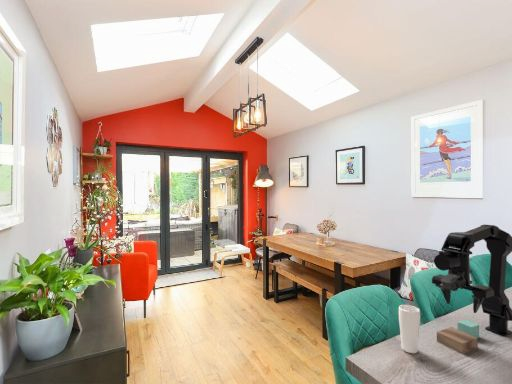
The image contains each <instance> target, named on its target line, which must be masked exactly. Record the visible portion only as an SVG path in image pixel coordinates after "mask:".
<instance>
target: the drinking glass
mask: <svg viewBox="0 0 512 384" xmlns="http://www.w3.org/2000/svg"><path fill="white" fill-rule="evenodd" d="M398 324H399V333H400V335H399V336H400V347H401V350H403V351H404V352H406V353H410V354H417V353H418V351H419V338H420V329H421V310H420V308H418V306H413V305H411V304H400V305H399V306H398Z"/></svg>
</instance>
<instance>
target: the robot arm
mask: <svg viewBox="0 0 512 384" xmlns="http://www.w3.org/2000/svg"><path fill="white" fill-rule="evenodd" d="M482 240H483V241H484V242H485V244H486V249H487V250H488V252H489V253H490V263H489V275H488V276H489V277H488V286H487V285H483V284H479V285H475V286H474V285H471V284H473V280H471V274H472V272H473V270H472V269H470V255H473V252H472V251H471V249H472V248H474V247H475V243H477V242H480V241H482ZM511 253H512V235H511V234H510V233H508V232H506V231H504V230H502V229H500V228H499V227H498V226H497V225H495V224H481V225H480V226H478V227H475V228H473V229H469V230H466V231H458V232H457V231H456V232H450V233H448V234H447V236H446V238H445V240H444V243H443V245H442V247H441V249H440V251H439V252H438V254H437V255H435V256H434V259H433V263H434V266H435V267H436V268H437V269H438V270H439V271H442V272H443V271H445V272H446V271H448V272H447V274H445V275H443V274H440V273H439V274H436V275H433V276H432V277H431V283H432V284H434V286H435V287H437V288H438V289H440V291H441V293H442V295H443V297H444V299H445V302H446V304H448V305H449V304H450V303H451V298H452V297H451V295H452V294H451V293H452V292H457V291H458V289H461V290H467V291H470V292H471V293H472V295H471V298H472V299H473V302H472V304H473V306H472V309H473V310H472V311H473V314H477V312H478V310H479V309H480V307H481V308H482V312H483V313H484V314H487V315H488V318H489V319H488V320H489V325H488V326H485V327H484V328H485V330H487V331H489V332H492V333H495V334H497V335H499V336H503V337H505V336H508V335H510V334H512V330H510V329H509V321H510V322H512V308H511V306H510V299H509V297H508V296H507V294H506V293H505V289H506V273H507V260H508V259H507V258H508V256H509V255H510V254H511Z"/></svg>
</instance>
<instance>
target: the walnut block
mask: <svg viewBox="0 0 512 384" xmlns="http://www.w3.org/2000/svg"><path fill="white" fill-rule="evenodd" d="M478 341H479V339H478V338H476V337H474V336H472V335H469V334H467V333H465V332H462V331H460V330H458V328H455V327H453V326H451V327H447V328H444V329H441V330H438V331H436V342H437V343H439V344H441V345H443V346H445V347H447V348H449V349H451V350H453V351H456V352H458V354H459V353H460V354H461V355H464V354H466V353H469V352H471V351H474V350H476V349H478V348H479V345H478V344H479V343H478Z"/></svg>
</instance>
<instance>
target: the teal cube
mask: <svg viewBox="0 0 512 384" xmlns="http://www.w3.org/2000/svg"><path fill="white" fill-rule="evenodd" d="M457 330H460V331H462V332H465V333H467V334H469V335H472V336H474V337H476V338H480V324H479V323H476V322H473V321H471V320H467V319H463V320H462V319H461V320H459V321H457Z"/></svg>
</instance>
